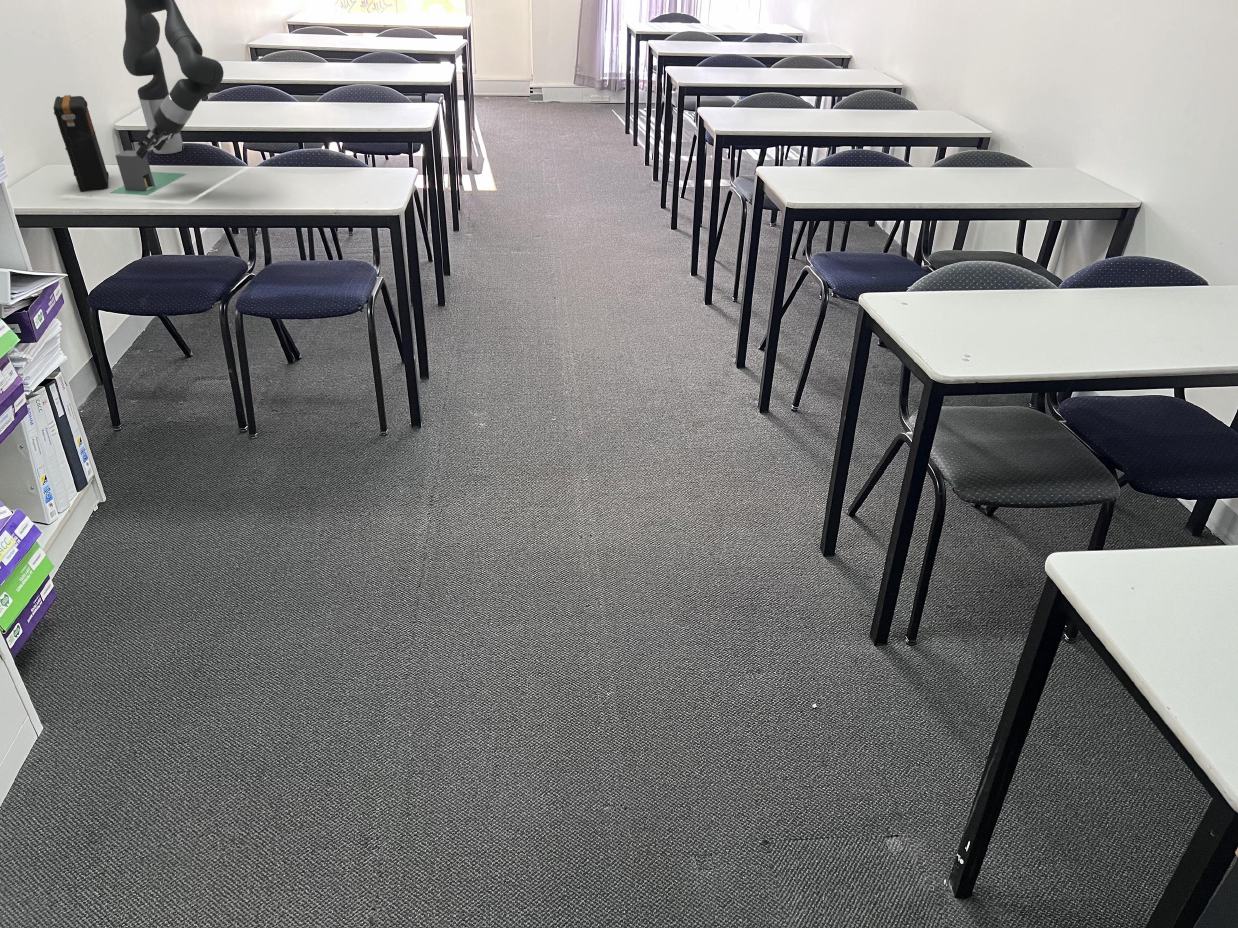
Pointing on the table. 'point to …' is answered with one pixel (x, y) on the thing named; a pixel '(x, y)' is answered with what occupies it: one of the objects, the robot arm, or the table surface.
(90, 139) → the black bag
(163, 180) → the header board
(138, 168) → the plug housing
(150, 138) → the robot arm
